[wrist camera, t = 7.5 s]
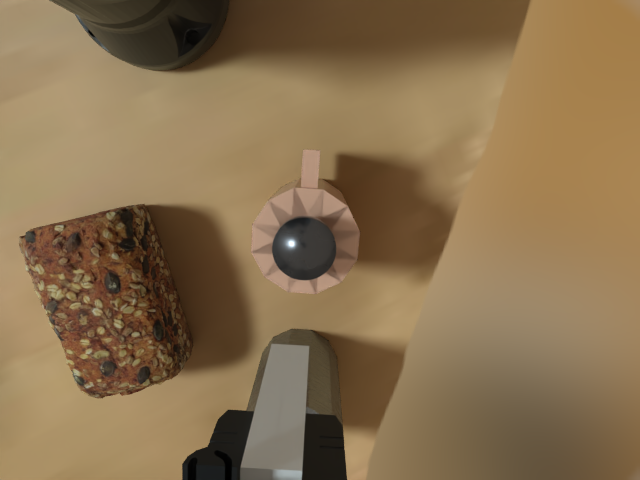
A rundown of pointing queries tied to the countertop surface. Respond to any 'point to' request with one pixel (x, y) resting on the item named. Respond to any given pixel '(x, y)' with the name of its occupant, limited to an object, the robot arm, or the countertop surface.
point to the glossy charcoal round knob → (304, 248)
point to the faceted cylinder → (309, 373)
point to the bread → (110, 299)
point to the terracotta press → (306, 201)
